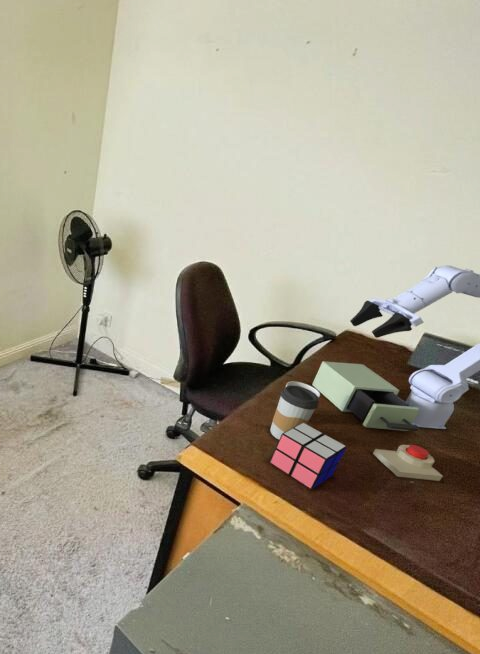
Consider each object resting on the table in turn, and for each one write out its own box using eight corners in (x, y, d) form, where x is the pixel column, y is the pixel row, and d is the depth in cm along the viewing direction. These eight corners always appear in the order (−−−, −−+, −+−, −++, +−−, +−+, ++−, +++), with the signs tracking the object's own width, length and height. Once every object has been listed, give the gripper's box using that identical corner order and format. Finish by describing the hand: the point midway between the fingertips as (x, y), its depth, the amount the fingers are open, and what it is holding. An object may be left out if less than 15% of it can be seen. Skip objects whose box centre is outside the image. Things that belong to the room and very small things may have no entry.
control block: (412, 455, 111) (419, 446, 110) (443, 481, 104) (450, 471, 102) (370, 451, 113) (375, 441, 111) (397, 476, 105) (403, 466, 103)
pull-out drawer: (420, 441, 115) (434, 419, 112) (376, 437, 117) (389, 415, 113) (371, 402, 132) (382, 382, 128) (333, 399, 133) (343, 379, 130)
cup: (313, 426, 121) (326, 399, 117) (283, 422, 123) (295, 395, 119) (299, 409, 129) (310, 383, 125) (270, 405, 130) (281, 379, 126)
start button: (417, 450, 109) (420, 445, 108) (429, 460, 106) (432, 455, 105) (402, 449, 109) (405, 444, 109) (414, 459, 106) (417, 454, 105)
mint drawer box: (385, 415, 127) (399, 390, 123) (342, 411, 128) (354, 386, 124) (351, 388, 140) (362, 364, 136) (312, 384, 142) (322, 361, 138)
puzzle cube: (311, 490, 100) (327, 459, 96) (268, 462, 108) (281, 433, 104) (332, 476, 104) (348, 446, 100) (289, 450, 112) (302, 421, 108)
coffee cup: (294, 429, 120) (313, 388, 114) (305, 449, 113) (326, 405, 106) (261, 423, 122) (278, 381, 116) (270, 441, 115) (289, 398, 109)
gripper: (384, 280, 116) (336, 309, 120) (433, 298, 103) (377, 330, 107) (396, 298, 118) (348, 326, 122) (446, 317, 104) (390, 348, 108)
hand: (362, 329), depth 114 cm, fingers open, 7 cm apart
